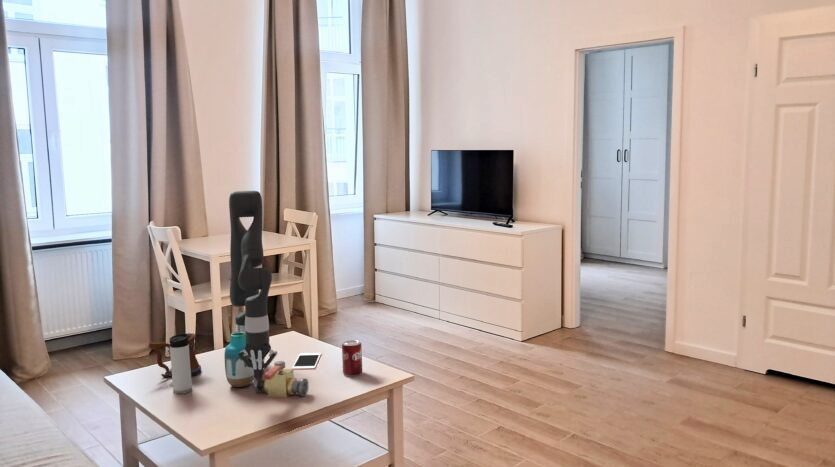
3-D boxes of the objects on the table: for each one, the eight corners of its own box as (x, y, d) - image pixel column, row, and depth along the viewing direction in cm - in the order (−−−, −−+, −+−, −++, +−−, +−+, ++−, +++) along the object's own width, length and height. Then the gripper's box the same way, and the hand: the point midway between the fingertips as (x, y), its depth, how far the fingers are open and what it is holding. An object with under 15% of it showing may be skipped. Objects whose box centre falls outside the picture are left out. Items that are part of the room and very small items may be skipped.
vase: (240, 378, 245) (236, 328, 242) (262, 382, 240) (259, 331, 237) (219, 388, 235) (216, 336, 233) (243, 392, 231) (239, 339, 228)
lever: (276, 365, 230) (276, 361, 229) (286, 365, 229) (286, 361, 229) (261, 379, 216) (261, 375, 216) (271, 380, 215) (271, 375, 215)
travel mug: (196, 387, 236) (192, 333, 233) (184, 394, 230) (180, 339, 227) (181, 386, 238) (177, 332, 235) (169, 392, 232) (165, 337, 229)
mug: (154, 384, 240) (150, 345, 238) (149, 375, 250) (145, 337, 248) (204, 374, 249) (201, 336, 247) (197, 366, 259) (195, 329, 257)
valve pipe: (253, 394, 229) (252, 369, 227) (262, 388, 234) (261, 363, 233) (301, 399, 224) (299, 373, 222) (308, 392, 229) (307, 367, 228)
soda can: (364, 370, 250) (363, 339, 249) (360, 377, 243) (359, 345, 241) (345, 370, 251) (344, 339, 249) (341, 377, 244) (339, 345, 242)
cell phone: (321, 354, 271) (321, 352, 271) (314, 370, 253) (314, 367, 253) (299, 355, 271) (299, 353, 271) (291, 370, 253) (291, 368, 253)
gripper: (233, 331, 212) (235, 383, 214) (273, 332, 211) (275, 384, 213) (241, 324, 219) (243, 374, 222) (280, 325, 218) (282, 375, 221)
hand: (259, 379), depth 218 cm, fingers closed
